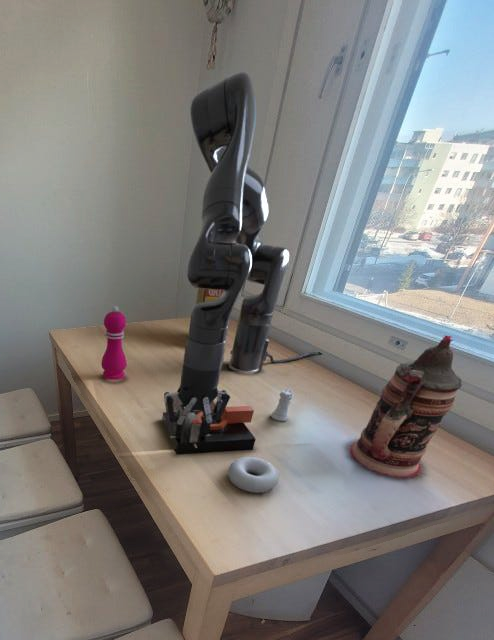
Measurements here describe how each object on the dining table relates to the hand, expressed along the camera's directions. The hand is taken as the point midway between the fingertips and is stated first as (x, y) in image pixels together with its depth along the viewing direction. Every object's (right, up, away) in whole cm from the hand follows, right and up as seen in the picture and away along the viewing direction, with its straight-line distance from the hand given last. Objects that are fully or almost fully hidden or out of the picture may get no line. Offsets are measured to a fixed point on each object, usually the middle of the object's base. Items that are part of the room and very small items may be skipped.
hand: (190, 436), depth 92 cm
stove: (+4, 0, +5) cm, 7 cm away
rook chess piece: (+25, +6, +13) cm, 28 cm away
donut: (+11, -10, -6) cm, 17 cm away
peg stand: (+3, +10, +17) cm, 20 cm away
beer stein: (+42, -5, +1) cm, 43 cm away
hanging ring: (+9, +4, +6) cm, 11 cm away
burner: (+6, +4, +5) cm, 9 cm away
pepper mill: (-17, +21, +30) cm, 40 cm away
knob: (0, 0, 0) cm, 0 cm away
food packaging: (+15, +42, +55) cm, 70 cm away
